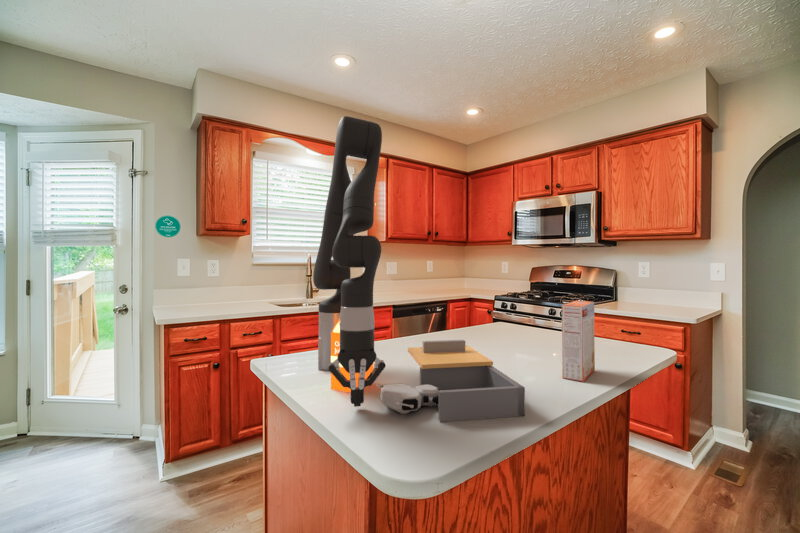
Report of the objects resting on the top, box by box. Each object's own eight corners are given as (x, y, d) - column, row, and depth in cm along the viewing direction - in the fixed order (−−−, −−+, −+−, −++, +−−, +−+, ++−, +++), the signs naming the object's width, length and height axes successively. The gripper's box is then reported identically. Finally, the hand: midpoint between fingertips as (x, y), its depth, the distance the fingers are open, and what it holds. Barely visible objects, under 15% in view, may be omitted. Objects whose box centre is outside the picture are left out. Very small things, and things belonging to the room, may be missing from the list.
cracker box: (573, 367, 114) (574, 300, 114) (595, 371, 110) (595, 301, 110) (560, 378, 103) (560, 303, 103) (583, 382, 99) (584, 305, 99)
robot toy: (429, 396, 92) (372, 401, 86) (430, 378, 92) (374, 381, 86) (456, 415, 80) (392, 422, 74) (457, 394, 80) (394, 399, 75)
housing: (440, 422, 75) (440, 392, 75) (419, 391, 93) (419, 367, 93) (524, 415, 78) (524, 387, 78) (489, 386, 96) (489, 364, 96)
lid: (422, 368, 90) (422, 352, 90) (407, 351, 109) (407, 337, 108) (493, 365, 94) (493, 349, 94) (467, 348, 112) (467, 335, 112)
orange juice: (330, 388, 94) (330, 311, 94) (349, 379, 102) (349, 307, 102) (356, 393, 91) (356, 312, 91) (373, 383, 99) (374, 308, 99)
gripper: (384, 322, 86) (384, 397, 86) (326, 324, 83) (326, 400, 84) (389, 328, 78) (389, 409, 78) (325, 330, 76) (325, 414, 76)
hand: (357, 405), depth 81 cm, fingers closed
